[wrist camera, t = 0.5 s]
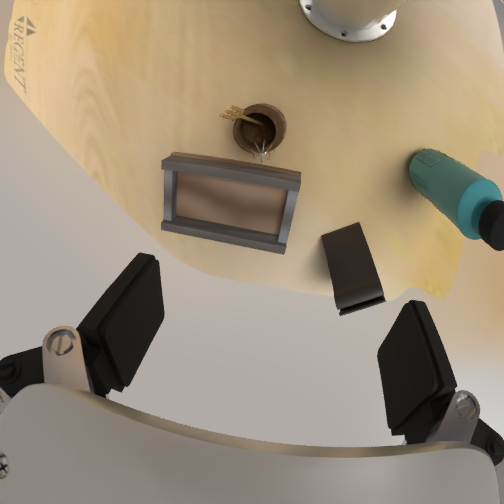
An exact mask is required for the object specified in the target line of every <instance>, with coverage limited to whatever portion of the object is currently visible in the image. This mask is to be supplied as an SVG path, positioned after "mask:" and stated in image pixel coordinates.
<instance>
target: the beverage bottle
mask: <svg viewBox="0 0 504 504" xmlns="http://www.w3.org/2000/svg"><path fill="white" fill-rule="evenodd" d="M443 154H444V153H443ZM443 154H441V153H440V151H438V152H437V150H436V151H435V150H432V149H427V150H425V149H424V150H423V151H420V152H419V153H417V154H416V155H415V156H414V157H413V159H412V161H411V163H410V168H409V175H410V178H411V181H412V183H413V185H414V186H415V188H416V189H417V190H419V191H420V192H421V193H422V194H421V193H420V194H421V195H422V196H423V195H424V196H425V197H426V198H427V199H428V200H430V201H431V202H432V204H434V205H435V206H436V207H437V208H438V209H439V210H440V211H441V212H442V213H443V214H445V215H446V216H447V217H448V218H449V219H450V220H451V221H452V222H453V223H454V224H455V225H456V226H457V227H458V228H459V230H460V231H461V233H462V234H463V235H464V236H466V237H467V238H469V239H473V240H477V239H483V240H484V241H485V242H486V243H487V244H489V245H490V246H491V247H492V248H493V249H495V250H497V251H502V250H504V202H503V199H502V195H501V192H500V190H499V188H498V187H497V185H496V184H495V183H494V182H492V181H491V180H488V179H486V178H485V177H483V176H481V175H480V174H478V173H476V172H475V171H473V169H472V170H471V169H469V168H468V167H466V166H465V165H463V164H462V162H461V163H459V162H457V161H455V160H456V159H455V160H454V159H452V158H450V157H448V155H447V156H446V154H445V155H443ZM414 186H413V187H414ZM424 196H423V197H424ZM430 201H429V202H430ZM442 213H441V214H442Z"/></svg>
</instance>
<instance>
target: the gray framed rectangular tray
mask: <svg viewBox="0 0 504 504" xmlns="http://www.w3.org/2000/svg"><path fill="white" fill-rule="evenodd" d="M162 169H164V170H165V173H164V220H163V221H162V222H161V230H165V231H170V232H175V233H180V234H185V235H190V236H195V237H200V238H205V239H210V240H215V241H220V242H224V243H229V244H234V245H239V246H244V247H249V248H254V249H259V250H264V251H269V252H274V253H278V254H283V255H284V254H285V249H286V243H287V239H288V235H289V230H290V226H291V222H292V217H293V213H294V209H295V204H296V200H297V195H298V192H299V189H300V184H301V172H297V171H292V170H287V169H282V168H277V167H272V166H266V165H261V164H255V163H249V162H244V161H237V160H231V159H225V158H218V157H211V156H203V155H195V154H187V153H178V152H173V153H171V156H169V157H167V158H166V159H164V160H162Z"/></svg>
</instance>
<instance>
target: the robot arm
mask: <svg viewBox="0 0 504 504" xmlns="http://www.w3.org/2000/svg"><path fill="white" fill-rule="evenodd" d="M406 1H407V0H299V3H300V6H301V9H302V11H303V12H304V14H305V16H306V17H307V18H308V19H309V21H310V22H311V23H312V24H313V25H315V26H316V27H317V28H318V29H319V30H321V31H323V32H324V33H326V34H328V35H330V36H332V37H334V38H337V39H340V40H344V41H349V42H368V41H372V40H375V39H378V38H380V37H381V36H383V35H385V34H386V33H387V32H388V31H389V30H390V29H391V28H392V26H393V25H394V22H395V19H396V12H397V11H396V9H397V8H398V7H400V6H401V5H402V4H404V3H405V2H406ZM500 1H502V2H503V3H504V0H500ZM307 8H310V10H307ZM380 27H382V28H383V30H382V29H381V28H380ZM342 33H343V34H345V36H342ZM163 319H164V305H163V296H162V287H161V277H160V267H159V261H158V260H156V259H155V256H153V255H150V254H145V253H139V254H137V255H136V257H135V258H134V259H133V260H132V261H131V262H130V263H129V265H128V266H127V267H126V268H125V269H124V270H123V272H122V273H121V274H120V275H119V276H118V278H117V279H116V280H115V281H114V282H113V283H112V284H111V285H110V287H109V288H108V289H107V290H106V291H105V293H104V294H103V295H102V296H101V298H100V299H99V300H98V301H97V303H96V304H95V305H94V306H93V308H92V309H91V310H90V312H89V313H88V314H87V315H86V317H85V318H84V319H83V321H82V322H81V323H80V324H79V326H78V327H77V328H76V329H74V328H72V327H70V326H59V327H56V328H54V329H52V330H51V331H49V333H48V334H47V335H46V336H45V338H44V340H43V345H42V346H41V347H37V348H34V349H30V350H27V351H24V352H20V353H17V354H13V355H10V356H7V357H4V358H3V359H2V360H0V504H504V440H503V438H502V437H501V436H500V435H499V434H498V433H497V432H496V431H494V430H493V429H492V428H491V427H489V426H488V425H487V424H486V423H484V422H483V421H482V420H481V419H480V418H479V414H480V405H479V403H478V401H477V399H476V397H475V396H474V395H473V394H472V393H470V392H468V391H465V390H461V391H458V392H455V388H456V387H457V383H456V380H455V377H454V374H453V371H452V368H451V365H450V362H449V360H448V357H447V354H446V352H445V349H444V346H443V344H442V341H441V339H440V336H439V334H438V331H437V329H436V327H435V324H434V322H433V319H432V317H431V315H430V312H429V310H428V308H427V306H426V304H425V302H423V301H416V300H410V301H409V303H406V304H405V305H404V306H403V308H402V310H401V312H400V313H399V315H398V317H397V319H396V321H395V323H394V324H393V326H392V328H391V329H390V331H389V333H388V335H387V336H386V338H385V340H384V341H383V343H382V344H381V346H380V348H379V350H378V355H377V357H378V363H379V368H380V374H381V381H382V387H383V394H384V400H385V408H386V415H387V424H388V427H389V428H390V429H391V433H392V436H395V435H405V440H404V442H403V443H402V445H398V446H381V447H318V446H303V445H292V444H282V443H274V442H266V441H259V440H253V439H246V438H240V437H235V436H230V435H225V434H220V433H216V432H211V431H207V430H202V429H198V428H194V427H190V426H187V425H183V424H179V423H176V422H173V421H169V420H166V419H163V418H160V417H157V416H153V415H150V414H147V413H144V412H141V411H138V410H135V409H133V408H130V407H127V406H124V405H122V404H119V403H116V402H114V401H111V400H109V397H108V394H109V392H110V390H111V389H114V390H116V391H119V392H122V391H123V389H124V387H125V386H126V387H128V386H129V385H130V383H131V381H132V379H133V377H134V375H135V373H136V371H137V369H138V367H139V365H140V364H141V362H142V360H143V357H144V356H145V354H146V352H147V350H148V348H149V346H150V344H151V342H152V340H153V338H154V336H155V334H156V333H157V331H158V329H159V327H160V325H161V323H162V321H163Z"/></svg>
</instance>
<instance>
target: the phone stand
mask: <svg viewBox="0 0 504 504" xmlns="http://www.w3.org/2000/svg"><path fill="white" fill-rule="evenodd" d="M322 240H323V244H324V248H325V252H326V257H327V261H328V266H329V270H330V275H331V279H332V284H333V290H334V298H335V303H336V307H337V309H340V313H339V315H340V316H342V315H345V314H349V313H352V312H355V311H358V310H362V309H365V308H368V307H371V306H374V305H377V304H380V303H383V302H386V301H385V298H384V292H383V289H382V286H381V282H380V279H379V277H378V274H377V271H376V268H375V265H374V262H373V259H372V256H371V253H370V250H369V247H368V244H367V242H366V239H365V236H364V233H363V231H362V228H361V225H360V223H356V224H353V225H350V226H348V227H345V228H342V229H339V230H337V231H334V232H331V233H328V234H325V235H323V236H322Z"/></svg>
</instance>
